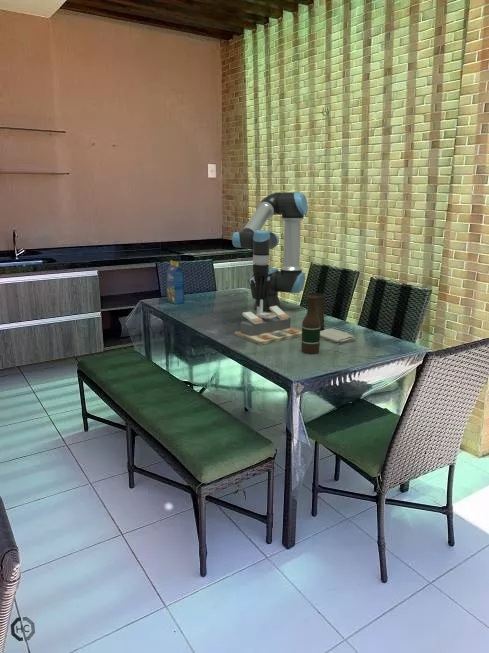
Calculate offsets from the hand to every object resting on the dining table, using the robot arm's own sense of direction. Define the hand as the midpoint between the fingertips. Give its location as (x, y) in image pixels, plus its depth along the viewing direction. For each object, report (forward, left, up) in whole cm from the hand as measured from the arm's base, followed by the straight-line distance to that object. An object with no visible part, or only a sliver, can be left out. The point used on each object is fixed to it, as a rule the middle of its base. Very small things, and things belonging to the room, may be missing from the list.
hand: (259, 312), depth 239 cm
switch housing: (0, +5, -8) cm, 9 cm away
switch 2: (-8, +4, -2) cm, 9 cm away
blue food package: (+2, -81, -9) cm, 82 cm away
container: (-22, +16, -9) cm, 29 cm away
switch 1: (+8, +4, -2) cm, 9 cm away
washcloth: (-20, +30, -10) cm, 37 cm away
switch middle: (0, +5, -2) cm, 5 cm away
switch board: (0, +9, -9) cm, 13 cm away
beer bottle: (+2, +38, -9) cm, 39 cm away
